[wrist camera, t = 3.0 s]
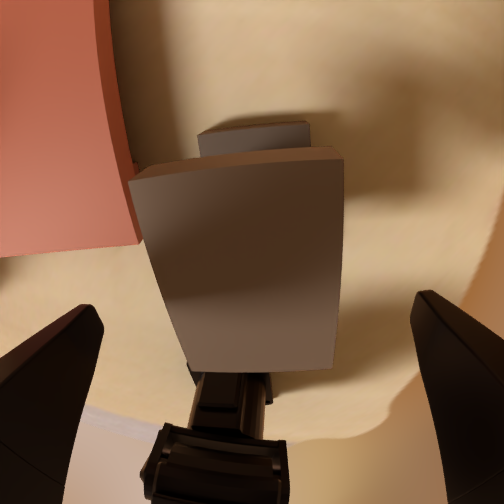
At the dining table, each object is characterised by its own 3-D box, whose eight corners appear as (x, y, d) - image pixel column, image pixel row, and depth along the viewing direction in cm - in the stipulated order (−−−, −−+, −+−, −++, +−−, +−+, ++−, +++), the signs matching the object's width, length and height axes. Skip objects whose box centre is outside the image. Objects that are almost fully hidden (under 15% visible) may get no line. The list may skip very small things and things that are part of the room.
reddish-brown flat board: (158, 218, 17) (138, 244, 14) (14, 239, 18) (-9, 258, 16) (120, -59, 8) (94, -76, 5) (-25, 37, 9) (-52, 40, 7)
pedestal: (312, 246, 17) (332, 368, 9) (225, 252, 17) (191, 371, 10) (305, 120, 13) (343, 158, 6) (204, 131, 14) (127, 181, 7)
